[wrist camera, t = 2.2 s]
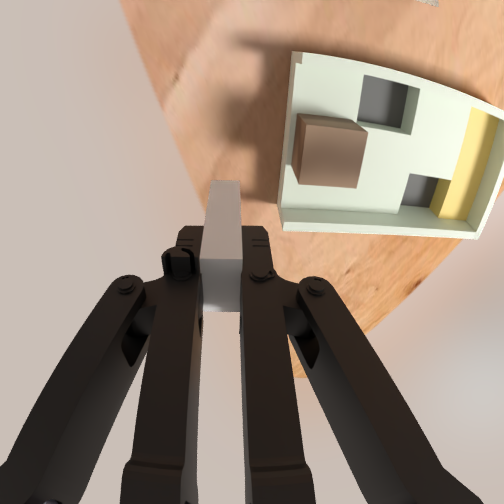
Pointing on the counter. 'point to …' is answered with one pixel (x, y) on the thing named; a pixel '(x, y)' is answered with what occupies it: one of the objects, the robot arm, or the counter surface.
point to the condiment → (430, 2)
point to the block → (328, 151)
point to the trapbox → (394, 153)
